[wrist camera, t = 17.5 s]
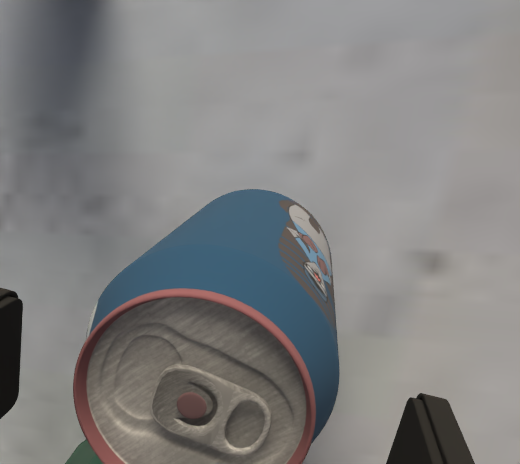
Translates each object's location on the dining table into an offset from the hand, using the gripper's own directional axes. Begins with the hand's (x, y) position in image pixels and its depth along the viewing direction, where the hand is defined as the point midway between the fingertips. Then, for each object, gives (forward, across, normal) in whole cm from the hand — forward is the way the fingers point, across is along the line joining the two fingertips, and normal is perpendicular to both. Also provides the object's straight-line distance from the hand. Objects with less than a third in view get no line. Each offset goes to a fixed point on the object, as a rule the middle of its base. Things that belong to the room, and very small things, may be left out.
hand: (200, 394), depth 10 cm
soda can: (+12, 0, 0) cm, 12 cm away
